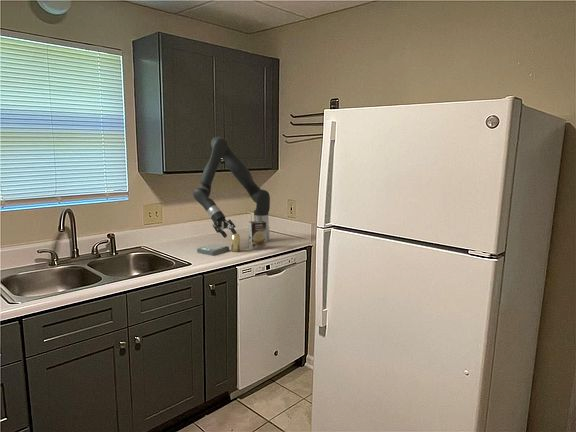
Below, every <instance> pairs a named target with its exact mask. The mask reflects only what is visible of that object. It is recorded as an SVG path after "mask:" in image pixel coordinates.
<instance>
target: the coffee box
mask: <svg viewBox="0 0 576 432" xmlns="http://www.w3.org/2000/svg"><path fill="white" fill-rule="evenodd" d="M248 248H249V249H250V250H251V251H253V250H254V251H255V250H266V249H267V242H266V222H264V221H254V220H253V221H252V220H251V221H248Z"/></svg>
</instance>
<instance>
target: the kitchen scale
mask: <svg viewBox="0 0 576 432" xmlns="http://www.w3.org/2000/svg"><path fill="white" fill-rule="evenodd" d="M196 251H197V252H196V253H197V254H202V255H206V256H207V255H208V256H216V255H220V254H222V253H226V252H230V246H229V245H225V244H220V243H210V244H207V245H203V246H200V247H197V249H196Z"/></svg>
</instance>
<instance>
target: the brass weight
mask: <svg viewBox="0 0 576 432" xmlns="http://www.w3.org/2000/svg"><path fill="white" fill-rule="evenodd" d="M240 237H241V235H240V233H237V234H233V233H231V234H230V241H231V242H230V243H231V244H230V246H231V248H230V250H231V253H240V251H241V248H240V247H241V246H240V245H241V243H240V242H241V240H240Z"/></svg>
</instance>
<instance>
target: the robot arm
mask: <svg viewBox="0 0 576 432" xmlns="http://www.w3.org/2000/svg"><path fill="white" fill-rule="evenodd" d="M210 147H211V155H210V158H209V160H208V162H207V164H206V165H205V166H204V168H203V172H202V174H201V177H200V178H199V179H200V181H199V182H200V184H201V187H196V188H195V189H193V192H192V195H193V198H194V199H195V200H196V201H197V202H198V204H200V205H201V207H203V209H204V210H205V212H206V213H207V216H209V218H210V219H211V221H212V222H213V224H212V227H213V228H214V230H215V232H216V233H217V234H221V235H222V237H223V238H227V237H228V234H227V233H226V232H225V230H224V229H227V230H229V231H231V234H238V233H237V231H236V229H235V228H236V227H237V226H236V225H235V223H234V222H233V221H232V220H231V219H228V220H227V219H226V215H225V214H224V212H223V211H222V210H221V209H220V207H219V206H218V205H217V204H216V202H215V201H214V200H213V199H212V198H210V196H211V192H212V191H211V190H212V184H213V181H214V179H215V178H214V177H215V175H216V172H217V170H218V167H219V165H220V163H221V160H223V161H224V163H225V165H226V166H227V168H228V170H229V171H230V173H231V174H232V175H233V176H234V177H235V179H236V181H238V182H239V183H240V185H241V186H242V187H243V188H244V189H245V190H246V192H247V193H248V194H249V196H250V198H251V200H252V201H253V202H254V203H256V204H255V205H256V207H255V209H254V210H253V221H264V222H266V243H267V242H269V241H270V225H269V222H270V221H269V217H270V216H269V212H270V209H271V208H270V207H271V196H270V193H269V191H268V190H266V189H262V188H260V187H259V186H258V185H257V184H256V182H255V181H254V178H253V176H252V174H251V172H250V170H249V168H248V167H247V166H246V164H244V162H243V161H242V160H241V159H240V158H239V157H238V156H237V155H236V154H235V153H234V152H233V150H232V149H231V148H230V147H229V143H228V141H227V140H226V139H225V138H223V137H222V136H218V135H217V136H214V137H212V139H211V141H210Z"/></svg>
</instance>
